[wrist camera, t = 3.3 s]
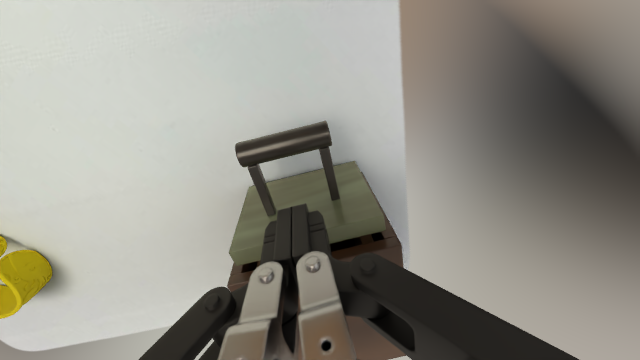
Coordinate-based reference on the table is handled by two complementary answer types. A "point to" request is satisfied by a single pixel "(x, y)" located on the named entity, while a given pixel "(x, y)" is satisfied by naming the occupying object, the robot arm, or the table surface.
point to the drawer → (303, 193)
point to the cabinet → (365, 339)
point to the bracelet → (21, 278)
